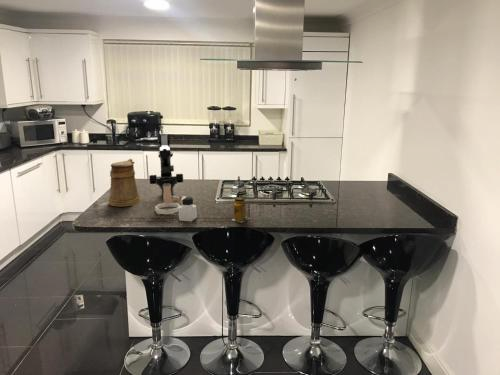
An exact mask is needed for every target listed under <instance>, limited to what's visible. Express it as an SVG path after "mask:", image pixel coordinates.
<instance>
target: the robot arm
mask: <svg viewBox="0 0 500 375" xmlns="http://www.w3.org/2000/svg"><path fill="white" fill-rule="evenodd" d="M156 137H157V142H158V145H159V149H158V150H159V151H158V152H157V154H158V158H159V159H160V176H157V174H150V175H149V184H150V185H157V186H158V187H159V189H160V190H161V195H163V184H164V183H170V185H171V196H174V195H175V193H174V187H175V186H176V185H177V184H178V183H179V184H180V183H182V184H183V183H184V174H183V173H176V174H175V176H173V173H172V172H175V170H174V169H175V167H174V166H175V165H173V164H172V163H171V162H172V161H171V160H172V159H171V158H172V157H173V156H174V153H173V152H172V150H171V142H172V135H171V134H169V133H166V132H165V133H163V132H161V133H160V134H158V135H157V136H156ZM171 164H172V165H171Z"/></svg>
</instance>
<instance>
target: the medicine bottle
mask: <svg viewBox="0 0 500 375" xmlns="http://www.w3.org/2000/svg"><path fill="white" fill-rule="evenodd" d="M181 200H182V204H181V207H179V211H178V220H179V221H181V220H182V221H183V222H189V221H190V223H191V222H193V221H194V220H196V219H197V216H198V215H197V214H198V213H197V205H195V204H194V198H193V197H191V196H185V197H184V198H182V199H181Z"/></svg>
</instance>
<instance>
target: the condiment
mask: <svg viewBox="0 0 500 375" xmlns="http://www.w3.org/2000/svg"><path fill="white" fill-rule="evenodd" d="M245 201H246V199H245V198H244V197H242V196H240V197H239V196H238V197H235V198H234V203H233V210H234V211H233V213H234V214H233V215H234V218H232V219H231V221H234V222H237V223H243V222H246V221H249V220H251V219H252V218H251V217H247V216H246V215H247V214H246V211H247V210H246V202H245Z"/></svg>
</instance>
